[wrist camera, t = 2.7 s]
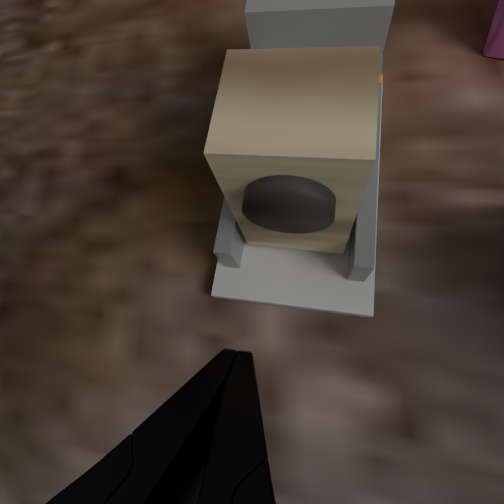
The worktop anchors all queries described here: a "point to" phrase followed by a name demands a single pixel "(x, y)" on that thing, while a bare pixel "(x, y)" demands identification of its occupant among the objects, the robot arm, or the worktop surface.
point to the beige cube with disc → (295, 142)
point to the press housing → (365, 225)
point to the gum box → (496, 34)
